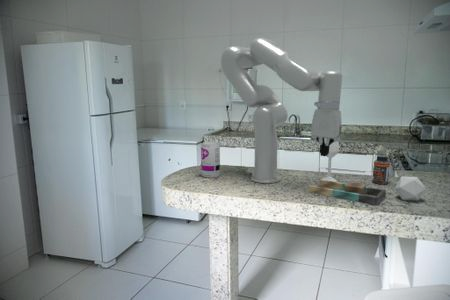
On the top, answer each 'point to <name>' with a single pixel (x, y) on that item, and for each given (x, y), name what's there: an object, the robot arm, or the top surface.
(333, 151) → the champagne flute
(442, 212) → the top surface
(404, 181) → the die
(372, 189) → the tray
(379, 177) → the supplement bottle
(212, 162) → the supplement can
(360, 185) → the walnut block
